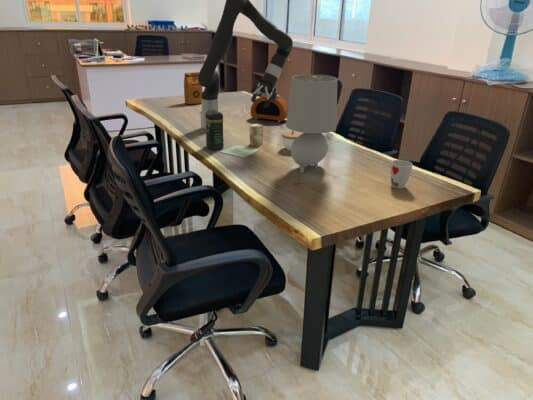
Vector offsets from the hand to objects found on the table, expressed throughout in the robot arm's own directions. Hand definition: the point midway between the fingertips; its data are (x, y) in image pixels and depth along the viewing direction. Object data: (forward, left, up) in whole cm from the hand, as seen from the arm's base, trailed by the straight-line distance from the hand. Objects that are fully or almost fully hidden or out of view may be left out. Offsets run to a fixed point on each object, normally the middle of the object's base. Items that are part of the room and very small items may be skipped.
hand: (258, 104), depth 214 cm
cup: (+80, -19, -20) cm, 84 cm away
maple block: (+2, -5, -20) cm, 20 cm away
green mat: (+2, -20, -20) cm, 28 cm away
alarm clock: (-19, +44, -20) cm, 52 cm away
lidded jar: (+21, -1, -20) cm, 29 cm away
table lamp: (+40, -22, -20) cm, 49 cm away
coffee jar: (-12, -22, -20) cm, 32 cm away
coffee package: (-87, +51, -20) cm, 103 cm away
